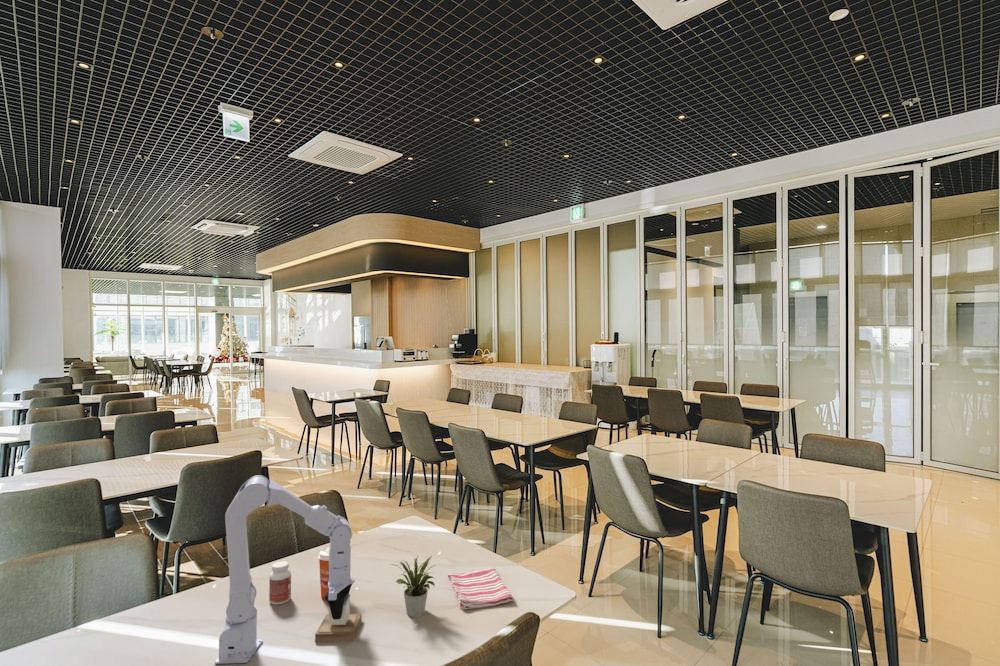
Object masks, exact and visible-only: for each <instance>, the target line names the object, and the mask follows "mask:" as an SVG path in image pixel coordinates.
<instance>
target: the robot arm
mask: <svg viewBox="0 0 1000 666" xmlns="http://www.w3.org/2000/svg"><path fill="white" fill-rule="evenodd" d="M266 502H267V504H266V506H267V507H270V506H274V505H280V506H282V507H285V508H286V509H288V510H290V511H291V512H293V513H296V514H297V515H299V516H301V517H303V518H304V524H305V525H306V526H308V527H310V528H311V529H313V530H314V531H316V532H318V533H319V534H321V535H323V536H327V537H328V538H329V543H330V544H329V547H328V548H329V581H328V587H329V592H327V593H326V595H325V599H326V600H325V601H326V602H327V604H328V608H329V607H330V610H331V614H332V618H333V619H341V616H342V610H343V604H344V600H345V598H346V595H347V594H350V591H351V589H352V585H353V584H354V583H355V580H356V579H355V578H353V577H352V576H351V555H352V553H351V552H352V550H351V548H352V547H351V539H352V537H353V533H352V529H351V525H350V522H349V521H348V520H347V519H346V518H345V517H344V516H341V515H339V514H337V515H336V514H334V513H332V512H331V511H330V510H328V507H327V506H326V505H325V504H323V505H322V506H321V505H319V504H315V505H310V504H309V503H307V502H306V501H304V500H303V499H301V498H300V497H299V496H297V495H296V494H294V493H293V492H291V491H290V490H288V489H287V488H285V487H284V486H283V485H281V484H279V483H278V482H276V481H274V480H272V479H270V480H269V478H267V477H266V476H264V475H260V474H258V475H254V476H251V477H249V478H248V479H247V480H246V481H245V482H244V483H243V484H242V485H241V486H240V487H239V490H238V492H237V493H236V494H235V495H234V498H233V499H232V501H231V503H230V504H229V506H228V507H227V509H226V512H225V515H224V520H225V521H224V523H225V535H226V536H225V537H226V546H227V547H226V548H227V559H228V562H227V563H228V573H229V574H228V575H229V593H228V599H229V600H228V604H227V606H226V610H225V625H224V628H223V631H222V632H221V633H220V635H219V639H218V657H217V658H216V659H215V662H214V664H216V665H218V664H223V665H224V664H246V663H248V662H249V661H250V660H251V658H252V657H253V655H254V654H255V652H256V651H257V650H258V649H259V647H260V645H262V643H263V639H262V638H259V639H258V638H257V636H258V635H257V634H258V633H257V630H258V628H257V625H258V609H257V608H256V607H255V600H256V597H257V589H256V588H257V587H256V586H255V585H254V583H253V581H252V575H251V569H250V559H249V558H250V555H249V543H248V542H249V541H248V530H247V517H248V516H249V515H250V514H251V513H252V512H253V511H255V510H257V509H258V508H261V507H262V506H263V505H264V504H265V503H266Z"/></svg>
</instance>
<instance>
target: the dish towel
mask: <svg viewBox="0 0 1000 666" xmlns="http://www.w3.org/2000/svg"><path fill="white" fill-rule="evenodd" d="M447 577H448V580H449V583H450V585H451V588H452V589H453V592H454V596H455V597H456V602H457V605H458V606H459V609H460V610H472V609H473V610H474V609H483V608H487V607H494V606H498V605H502V604H508V603H507V602H509V603H511V602H512V603H513V602H514V597H513V595H512V593H511V591H510V590H509V589H508V588H507V585H506V584H505V582H504V581H503V580H502V578H501V576H500V575H499V573H498V572H497V571H496V567H490V568H487V569H486V568H485V569H477V570H472V571H471V570H470V571H466V572H465V571H464V572H460V573H457V572H456V573H447Z"/></svg>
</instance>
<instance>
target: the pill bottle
mask: <svg viewBox="0 0 1000 666" xmlns="http://www.w3.org/2000/svg"><path fill="white" fill-rule="evenodd" d="M289 565H290V564H289V562H288V561H285V560H284V561H277V562H274V563H273V564H272V566H271V567H272V568H271V571H272V572H271V573H270V574H269V579H268V580H269V587H268V588H269V589H268V590H269V591H268V595H269V596H268V598H269V603H270V604H271V605H282V604H285V603H287V602H289V601H290V600H291V595H292V571H291V569H289Z"/></svg>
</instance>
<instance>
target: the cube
mask: <svg viewBox="0 0 1000 666" xmlns="http://www.w3.org/2000/svg"><path fill="white" fill-rule="evenodd" d="M328 614H329V625H346V623H347V621H348V618H349V616H350V614H351V594H350V593H349V594H347V595H346V598H345V600H344V604H343V610H342V616H341V619H333V618H332V614H331V610H330V607H329V606H328Z"/></svg>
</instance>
